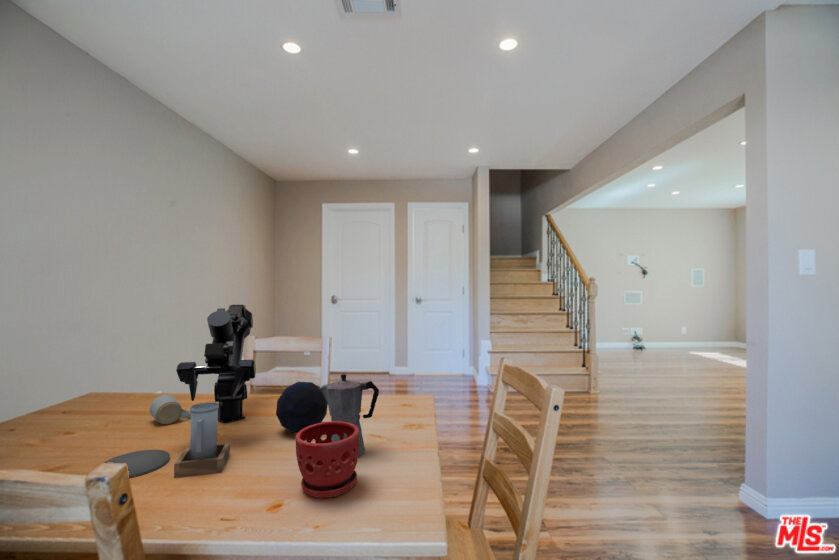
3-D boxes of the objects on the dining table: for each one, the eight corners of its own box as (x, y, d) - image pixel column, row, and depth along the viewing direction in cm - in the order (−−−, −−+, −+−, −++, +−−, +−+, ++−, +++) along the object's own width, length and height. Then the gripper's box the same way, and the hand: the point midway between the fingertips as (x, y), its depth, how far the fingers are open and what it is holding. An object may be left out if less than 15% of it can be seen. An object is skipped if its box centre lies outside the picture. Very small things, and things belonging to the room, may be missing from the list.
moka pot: (321, 445, 105) (321, 370, 105) (378, 443, 106) (379, 369, 107) (314, 461, 95) (315, 378, 96) (378, 459, 97) (378, 377, 97)
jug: (193, 461, 95) (194, 403, 95) (220, 458, 97) (221, 401, 97) (183, 476, 88) (184, 413, 88) (213, 472, 89) (214, 411, 89)
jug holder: (186, 459, 96) (187, 446, 96) (229, 454, 99) (229, 442, 99) (174, 477, 87) (174, 463, 87) (221, 472, 90) (221, 458, 90)
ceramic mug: (155, 428, 117) (156, 402, 117) (148, 421, 123) (149, 396, 123) (194, 420, 125) (195, 396, 125) (186, 414, 130) (187, 391, 131)
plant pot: (320, 468, 92) (321, 417, 92) (370, 479, 87) (370, 425, 87) (281, 496, 80) (282, 436, 80) (335, 510, 75) (336, 447, 75)
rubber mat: (160, 448, 103) (160, 444, 103) (177, 464, 93) (177, 461, 93) (91, 465, 92) (91, 462, 92) (103, 486, 83) (103, 482, 83)
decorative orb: (261, 411, 117) (277, 375, 111) (305, 400, 128) (322, 367, 122) (280, 451, 109) (299, 415, 103) (325, 435, 121) (344, 402, 115)
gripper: (179, 332, 104) (163, 384, 93) (255, 330, 109) (248, 379, 98) (187, 356, 111) (173, 407, 100) (258, 354, 116) (252, 402, 105)
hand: (212, 398), depth 101 cm, fingers open, 9 cm apart
